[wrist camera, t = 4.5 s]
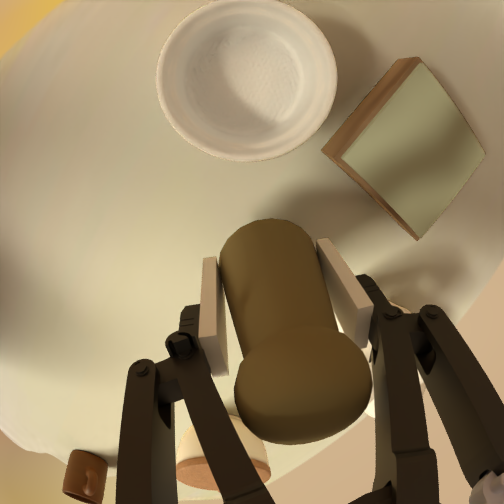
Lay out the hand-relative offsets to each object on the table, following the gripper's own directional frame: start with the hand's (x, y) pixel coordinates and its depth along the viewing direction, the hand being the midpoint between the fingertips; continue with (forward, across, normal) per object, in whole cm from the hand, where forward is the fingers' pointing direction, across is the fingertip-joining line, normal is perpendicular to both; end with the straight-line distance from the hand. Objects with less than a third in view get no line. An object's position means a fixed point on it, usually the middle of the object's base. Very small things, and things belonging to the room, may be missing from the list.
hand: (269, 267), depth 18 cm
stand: (+3, +11, +6) cm, 13 cm away
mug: (+4, -35, -37) cm, 51 cm away
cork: (+1, 0, 0) cm, 1 cm away
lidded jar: (+4, -8, -24) cm, 26 cm away
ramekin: (+4, 0, +11) cm, 12 cm away
